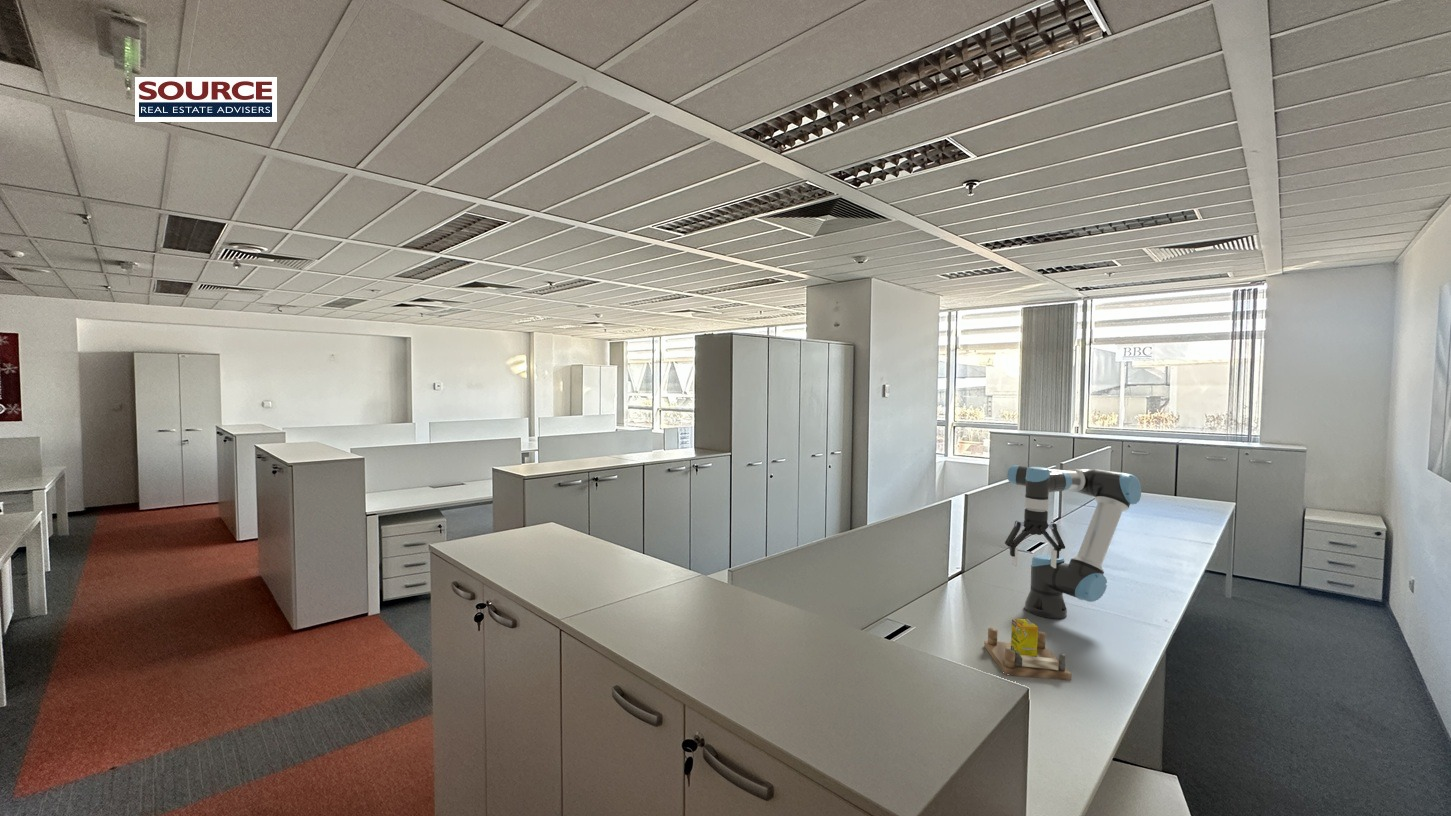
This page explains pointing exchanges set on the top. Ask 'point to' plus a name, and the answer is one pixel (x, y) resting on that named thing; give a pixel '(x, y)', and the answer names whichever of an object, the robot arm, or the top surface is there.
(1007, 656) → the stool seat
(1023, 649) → the supplement box
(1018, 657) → the stool leg
